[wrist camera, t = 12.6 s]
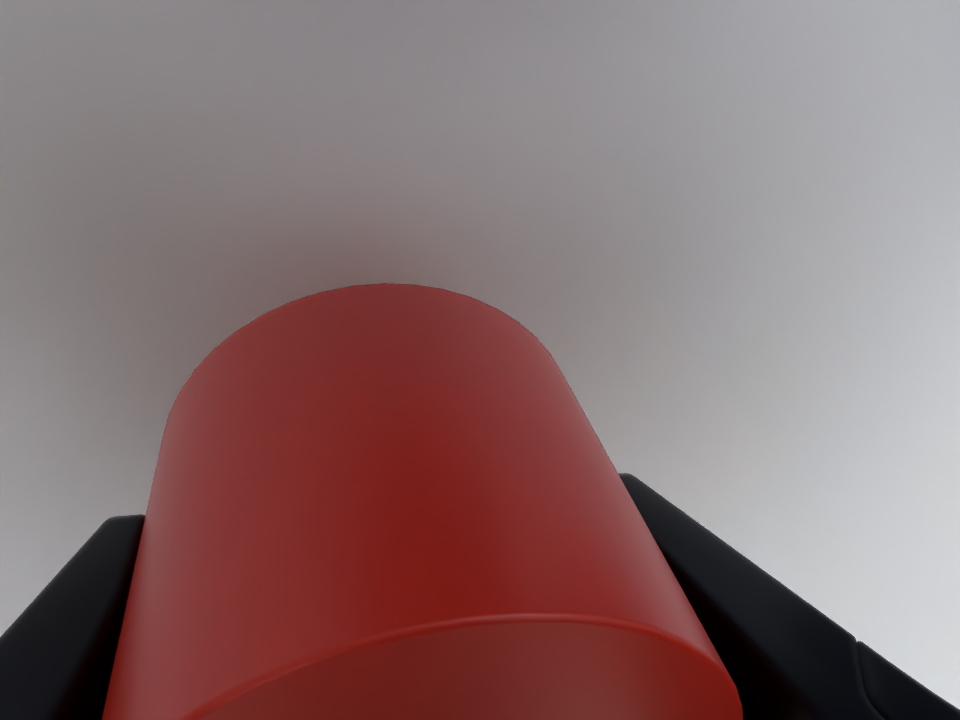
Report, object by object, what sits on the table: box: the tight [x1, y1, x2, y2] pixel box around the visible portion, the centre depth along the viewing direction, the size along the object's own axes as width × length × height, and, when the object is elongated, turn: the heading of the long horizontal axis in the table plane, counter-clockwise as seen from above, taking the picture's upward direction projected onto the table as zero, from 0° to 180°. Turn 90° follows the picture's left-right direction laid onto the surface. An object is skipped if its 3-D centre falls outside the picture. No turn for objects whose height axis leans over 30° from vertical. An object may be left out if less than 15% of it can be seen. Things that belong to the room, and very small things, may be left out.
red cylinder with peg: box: [102, 283, 743, 720], centre depth 8 cm, size 6×6×6 cm
